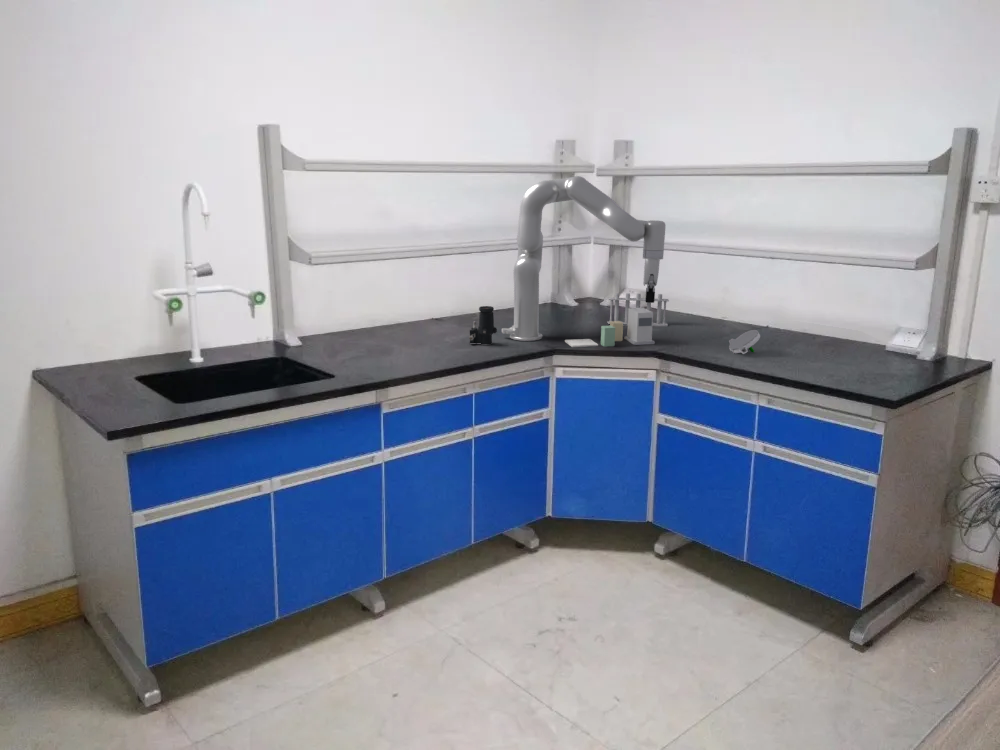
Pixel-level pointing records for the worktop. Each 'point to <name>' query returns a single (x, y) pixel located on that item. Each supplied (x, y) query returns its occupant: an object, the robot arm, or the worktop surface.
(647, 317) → the bench unit
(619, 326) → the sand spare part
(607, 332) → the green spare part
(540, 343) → the worktop surface
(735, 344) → the grey tilted oval device
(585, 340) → the mat
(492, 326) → the scope
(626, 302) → the test tube rack
